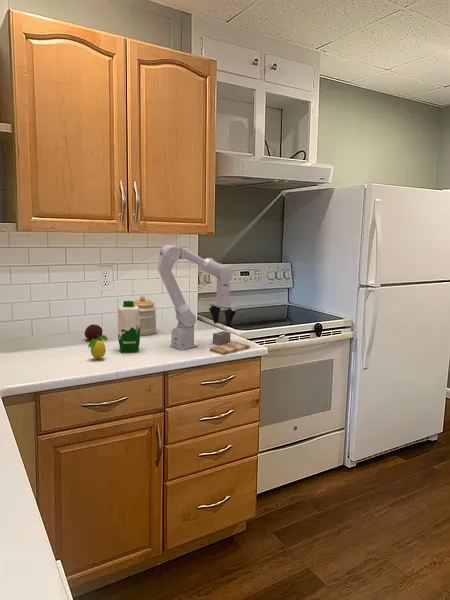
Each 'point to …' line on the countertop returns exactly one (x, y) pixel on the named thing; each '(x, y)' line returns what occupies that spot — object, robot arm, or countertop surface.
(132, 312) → the milk carton
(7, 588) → the countertop surface
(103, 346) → the lemon
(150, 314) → the jar
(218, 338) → the sanding block
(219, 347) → the board
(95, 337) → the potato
